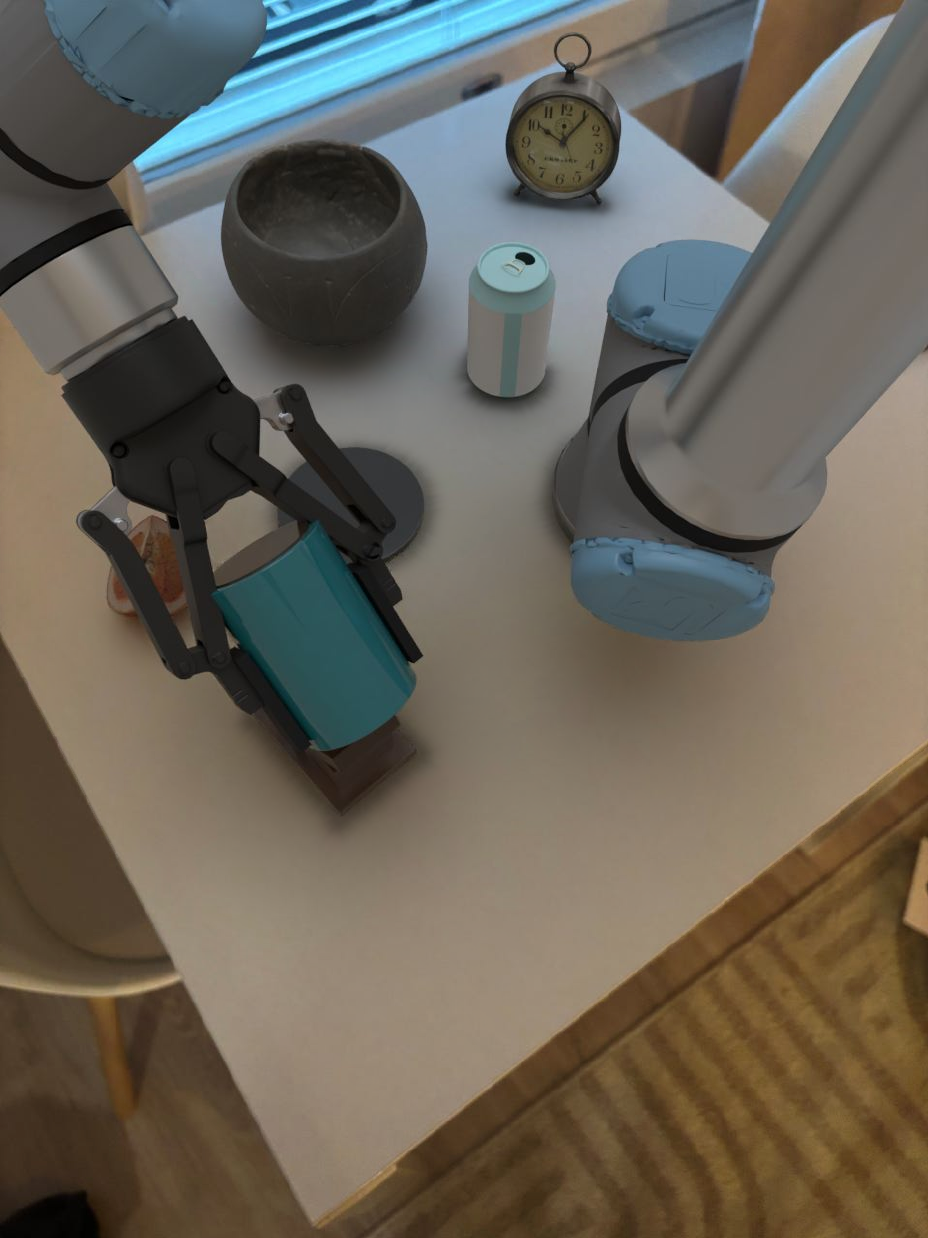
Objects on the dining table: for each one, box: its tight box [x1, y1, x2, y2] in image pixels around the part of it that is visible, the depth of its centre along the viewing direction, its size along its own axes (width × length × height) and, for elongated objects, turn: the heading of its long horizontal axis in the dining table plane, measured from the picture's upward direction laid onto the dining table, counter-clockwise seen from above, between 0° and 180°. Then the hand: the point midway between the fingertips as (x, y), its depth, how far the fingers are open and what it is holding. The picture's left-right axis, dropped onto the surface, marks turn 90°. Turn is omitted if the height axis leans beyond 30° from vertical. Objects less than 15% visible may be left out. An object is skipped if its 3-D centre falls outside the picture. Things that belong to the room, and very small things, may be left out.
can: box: [466, 241, 557, 398], centre depth 80 cm, size 7×7×12 cm
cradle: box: [253, 708, 417, 817], centre depth 64 cm, size 10×7×11 cm
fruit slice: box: [106, 514, 188, 620], centre depth 72 cm, size 8×7×5 cm
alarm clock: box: [504, 31, 622, 206], centre depth 90 cm, size 11×5×16 cm, turn 80°
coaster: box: [276, 446, 425, 564], centre depth 78 cm, size 12×12×1 cm
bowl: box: [220, 138, 428, 347], centre depth 83 cm, size 18×18×13 cm
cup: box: [211, 520, 418, 751], centre depth 54 cm, size 13×8×13 cm, turn 42°
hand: (355, 698), depth 55 cm, fingers closed on cup, 8 cm apart
